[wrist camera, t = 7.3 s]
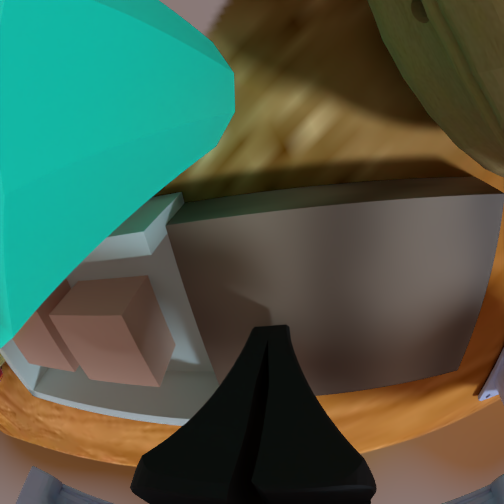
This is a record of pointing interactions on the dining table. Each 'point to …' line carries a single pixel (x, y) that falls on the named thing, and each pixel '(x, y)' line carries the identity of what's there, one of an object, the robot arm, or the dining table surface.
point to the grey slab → (343, 275)
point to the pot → (452, 67)
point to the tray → (173, 309)
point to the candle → (93, 129)
